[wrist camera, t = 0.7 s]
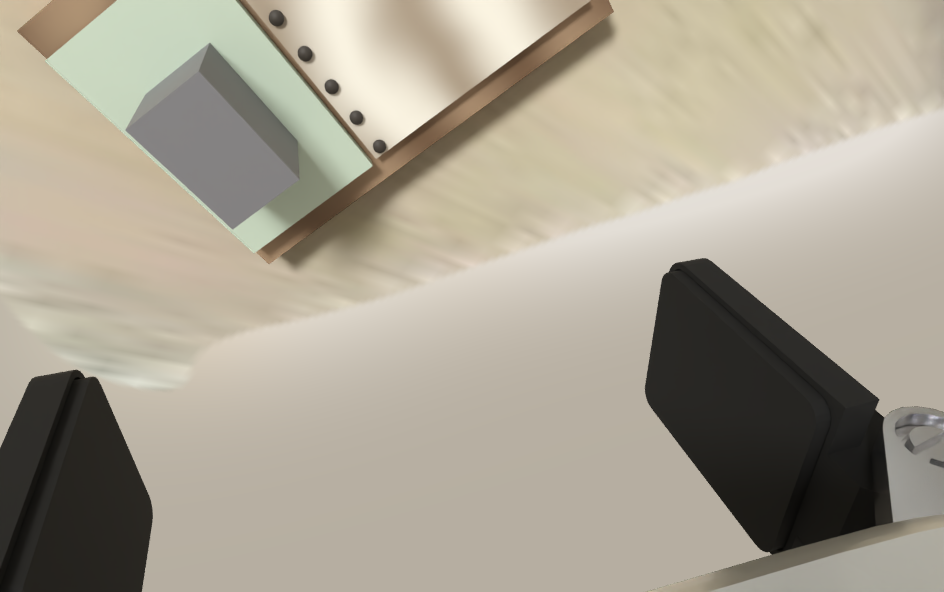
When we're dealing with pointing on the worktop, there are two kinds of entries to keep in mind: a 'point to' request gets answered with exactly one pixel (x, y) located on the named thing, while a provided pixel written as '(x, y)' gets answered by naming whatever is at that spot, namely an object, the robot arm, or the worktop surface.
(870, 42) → the worktop surface
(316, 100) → the stub
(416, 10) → the ticket board
